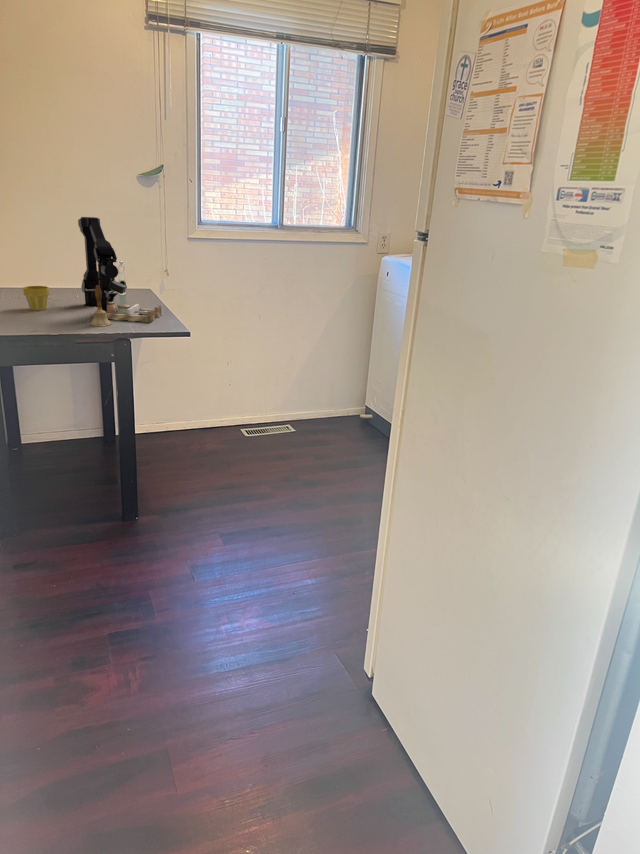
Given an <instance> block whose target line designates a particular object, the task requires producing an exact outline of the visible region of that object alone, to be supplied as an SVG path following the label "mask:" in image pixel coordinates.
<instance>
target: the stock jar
mask: <svg viewBox="0 0 640 854" xmlns="http://www.w3.org/2000/svg"><path fill="white" fill-rule="evenodd" d="M116 307H117V313H116V314H126V315H128V313H127V309H129V308H130V307H132V304H126V303H124V304H123V303H120V304H116Z"/></svg>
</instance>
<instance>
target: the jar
mask: <svg viewBox="0 0 640 854" xmlns="http://www.w3.org/2000/svg"><path fill="white" fill-rule="evenodd" d="M115 304H116V303H115V301H114V300H113V301H107V312H106V313H112V314H116V312H115V307H116V306H115Z"/></svg>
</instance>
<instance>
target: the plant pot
mask: <svg viewBox="0 0 640 854" xmlns="http://www.w3.org/2000/svg"><path fill="white" fill-rule="evenodd" d="M22 289H23V290H22V292H23V296H25V297H26V301H27V304H28V307H29V309H30V310H31V311H37V310H39V311H46V310H47V307H48V296H50V289H49V286H46V285H27V286H26V285H25V286H23V288H22Z"/></svg>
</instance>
